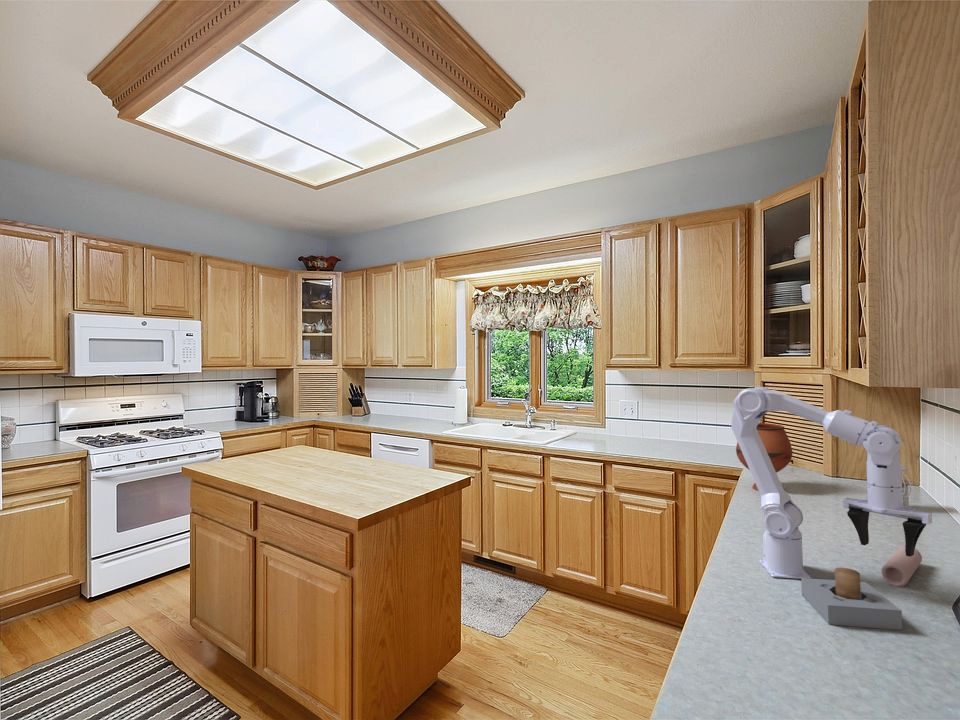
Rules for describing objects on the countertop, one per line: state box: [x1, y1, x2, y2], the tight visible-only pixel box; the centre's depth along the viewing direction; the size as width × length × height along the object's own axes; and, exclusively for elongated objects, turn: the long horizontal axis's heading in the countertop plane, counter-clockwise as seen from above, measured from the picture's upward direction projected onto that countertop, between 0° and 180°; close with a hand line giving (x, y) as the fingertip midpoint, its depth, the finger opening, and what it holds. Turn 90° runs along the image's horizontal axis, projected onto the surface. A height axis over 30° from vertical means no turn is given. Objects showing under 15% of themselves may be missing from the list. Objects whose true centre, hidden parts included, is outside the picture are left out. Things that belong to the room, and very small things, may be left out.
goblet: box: [735, 422, 793, 491], centre depth 190 cm, size 19×19×25 cm
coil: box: [881, 545, 923, 587], centre depth 113 cm, size 5×5×18 cm
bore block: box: [800, 578, 903, 631], centre depth 97 cm, size 12×12×4 cm
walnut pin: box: [834, 567, 861, 600], centre depth 97 cm, size 4×4×7 cm
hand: (886, 549), depth 103 cm, fingers open, 7 cm apart
